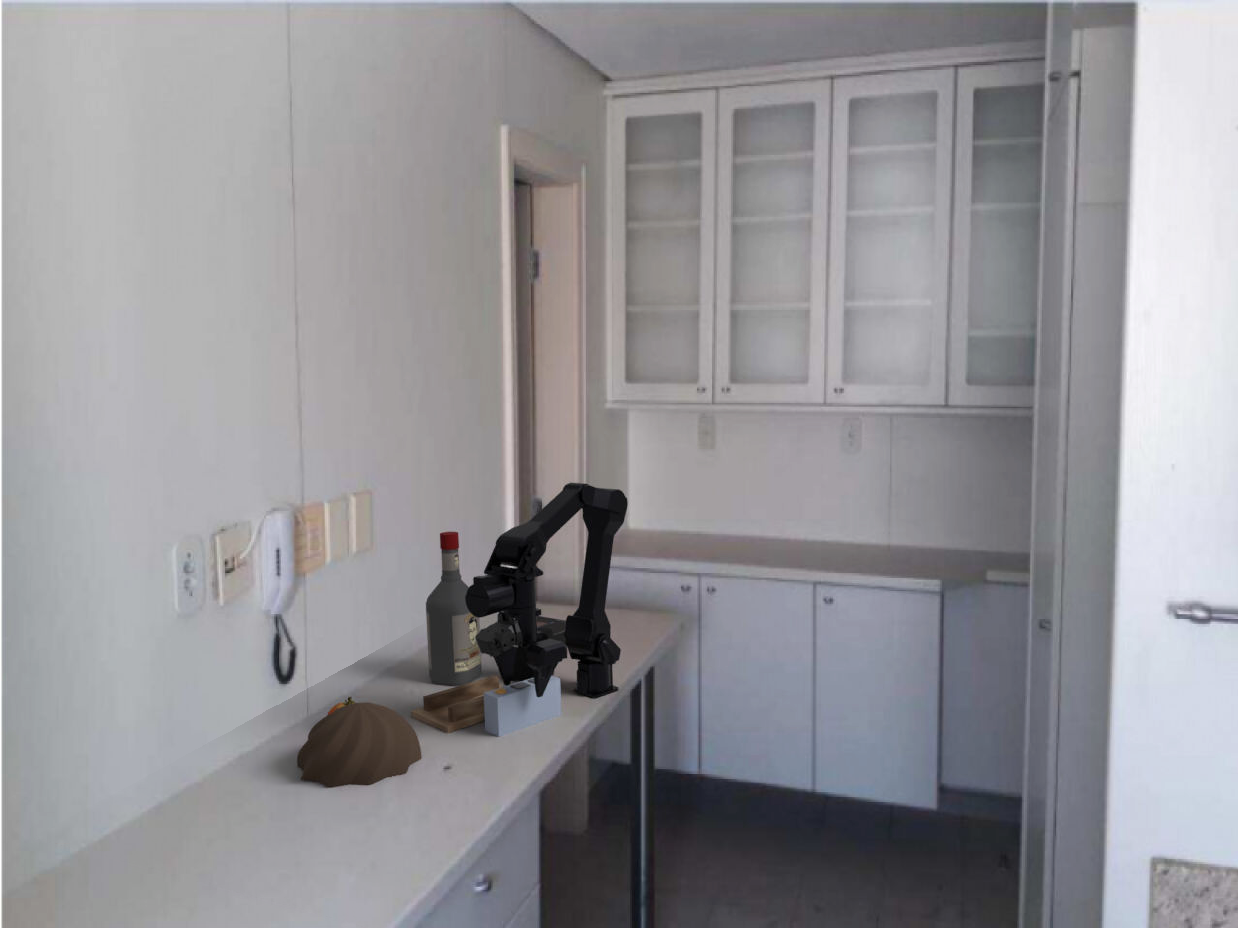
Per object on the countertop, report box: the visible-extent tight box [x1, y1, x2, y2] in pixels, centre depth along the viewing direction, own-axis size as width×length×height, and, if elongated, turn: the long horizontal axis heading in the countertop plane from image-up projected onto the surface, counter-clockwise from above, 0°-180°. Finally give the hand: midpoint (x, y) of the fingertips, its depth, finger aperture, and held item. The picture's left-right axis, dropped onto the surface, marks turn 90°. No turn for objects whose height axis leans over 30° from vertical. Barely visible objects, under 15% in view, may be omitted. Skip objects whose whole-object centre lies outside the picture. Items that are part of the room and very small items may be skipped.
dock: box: [410, 675, 505, 734], centre depth 185 cm, size 20×12×4 cm, turn 134°
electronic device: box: [511, 628, 555, 682], centre depth 202 cm, size 4×10×10 cm, turn 78°
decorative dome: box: [296, 701, 422, 789], centre depth 162 cm, size 19×20×10 cm
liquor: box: [425, 531, 483, 687], centre depth 202 cm, size 9×9×30 cm
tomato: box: [327, 696, 356, 715], centre depth 178 cm, size 8×7×7 cm
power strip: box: [484, 675, 562, 738], centre depth 177 cm, size 14×4×7 cm, turn 133°
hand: (523, 690), depth 177 cm, fingers open, 9 cm apart
